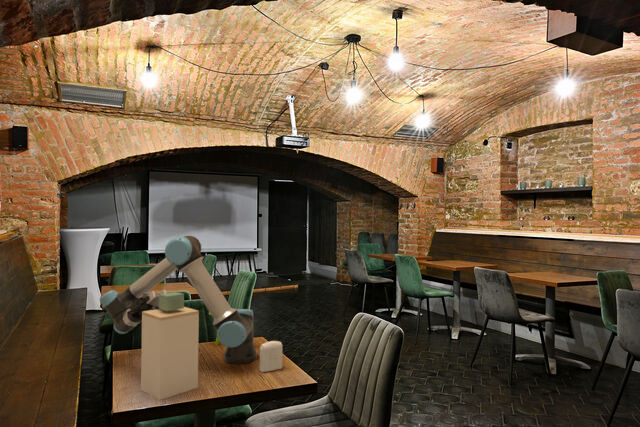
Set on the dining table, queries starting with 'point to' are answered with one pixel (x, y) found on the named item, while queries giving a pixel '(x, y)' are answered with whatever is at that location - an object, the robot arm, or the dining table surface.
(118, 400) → the dining table surface
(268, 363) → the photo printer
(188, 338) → the pedestal
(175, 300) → the bar
